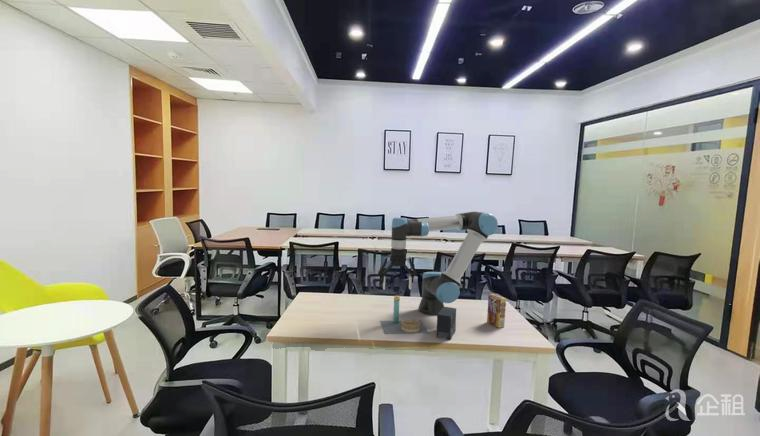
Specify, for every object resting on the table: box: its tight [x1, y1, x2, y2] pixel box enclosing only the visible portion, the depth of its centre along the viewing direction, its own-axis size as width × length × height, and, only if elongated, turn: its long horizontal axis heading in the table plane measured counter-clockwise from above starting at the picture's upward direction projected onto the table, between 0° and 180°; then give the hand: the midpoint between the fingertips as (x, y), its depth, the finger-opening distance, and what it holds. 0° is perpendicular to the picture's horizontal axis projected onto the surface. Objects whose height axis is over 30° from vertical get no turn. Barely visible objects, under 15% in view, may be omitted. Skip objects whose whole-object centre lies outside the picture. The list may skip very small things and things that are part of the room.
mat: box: [379, 320, 430, 335], centre depth 176 cm, size 22×17×1 cm
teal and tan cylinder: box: [392, 295, 401, 324], centre depth 181 cm, size 3×3×14 cm
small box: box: [436, 306, 457, 341], centre depth 169 cm, size 13×7×12 cm, turn 157°
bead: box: [401, 318, 420, 332], centre depth 174 cm, size 9×9×3 cm
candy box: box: [486, 293, 507, 329], centre depth 185 cm, size 9×4×15 cm, turn 26°
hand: (396, 288), depth 180 cm, fingers open, 13 cm apart
